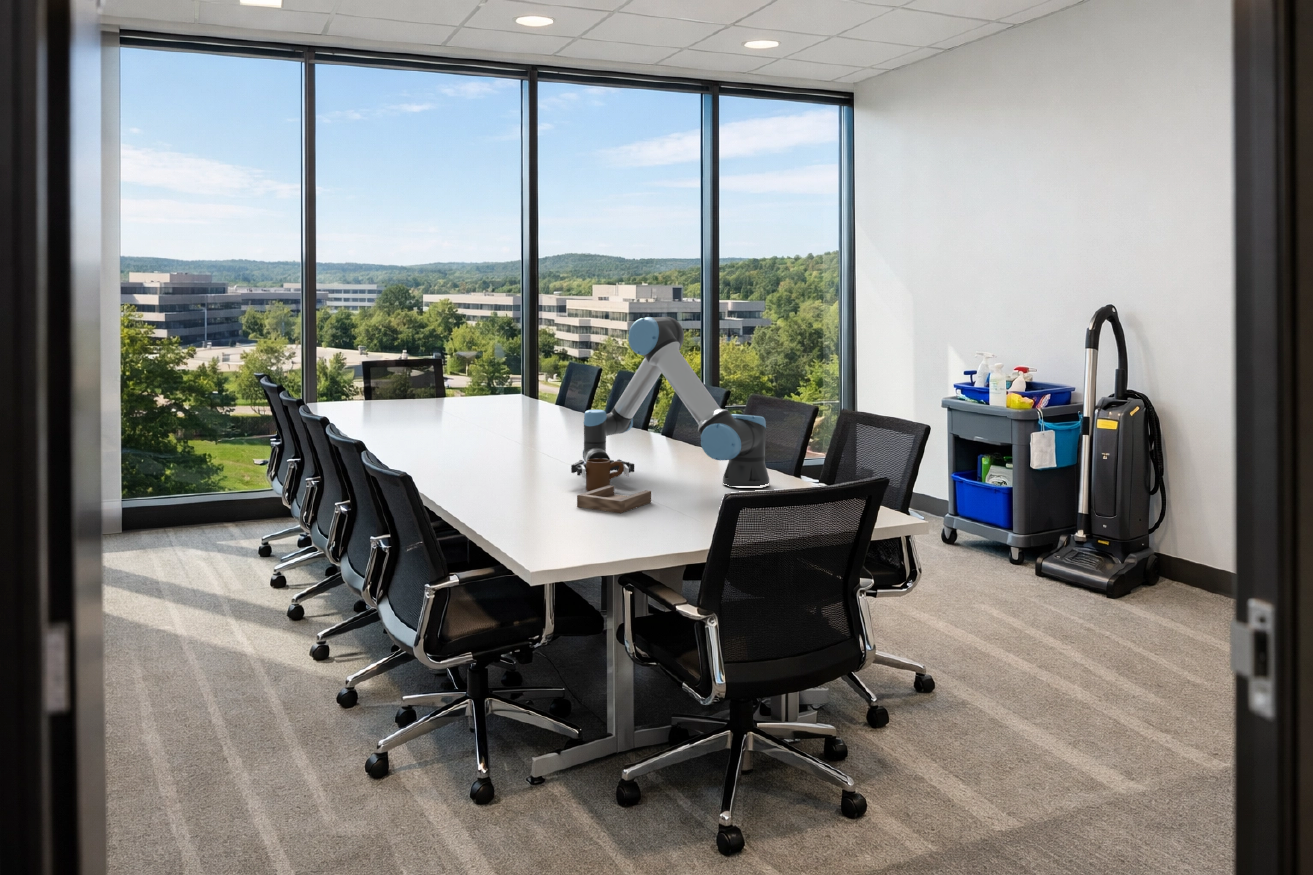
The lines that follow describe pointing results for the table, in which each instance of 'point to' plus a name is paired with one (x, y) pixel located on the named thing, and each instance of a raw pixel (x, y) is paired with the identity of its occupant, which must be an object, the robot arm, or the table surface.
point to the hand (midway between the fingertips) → (606, 472)
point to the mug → (601, 473)
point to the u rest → (612, 500)
